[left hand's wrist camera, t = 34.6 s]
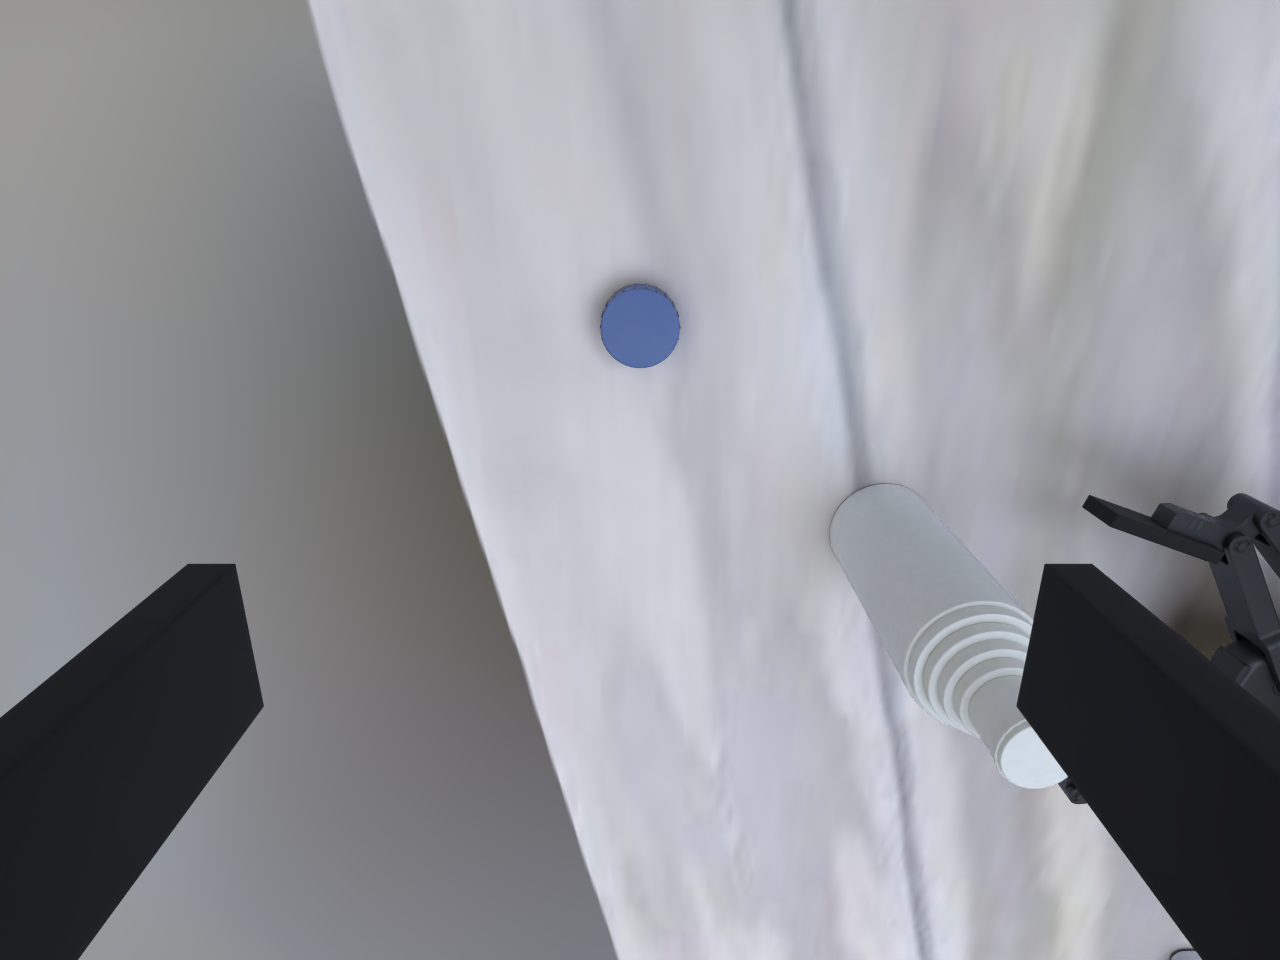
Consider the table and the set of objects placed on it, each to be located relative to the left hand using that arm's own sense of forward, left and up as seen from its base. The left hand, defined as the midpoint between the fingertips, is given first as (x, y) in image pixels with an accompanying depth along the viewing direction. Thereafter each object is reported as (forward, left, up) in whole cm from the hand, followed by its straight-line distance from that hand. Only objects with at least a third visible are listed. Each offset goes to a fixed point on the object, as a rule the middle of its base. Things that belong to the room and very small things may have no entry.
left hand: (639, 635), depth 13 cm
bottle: (-10, +17, -34) cm, 39 cm away
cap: (0, 0, -31) cm, 32 cm away
